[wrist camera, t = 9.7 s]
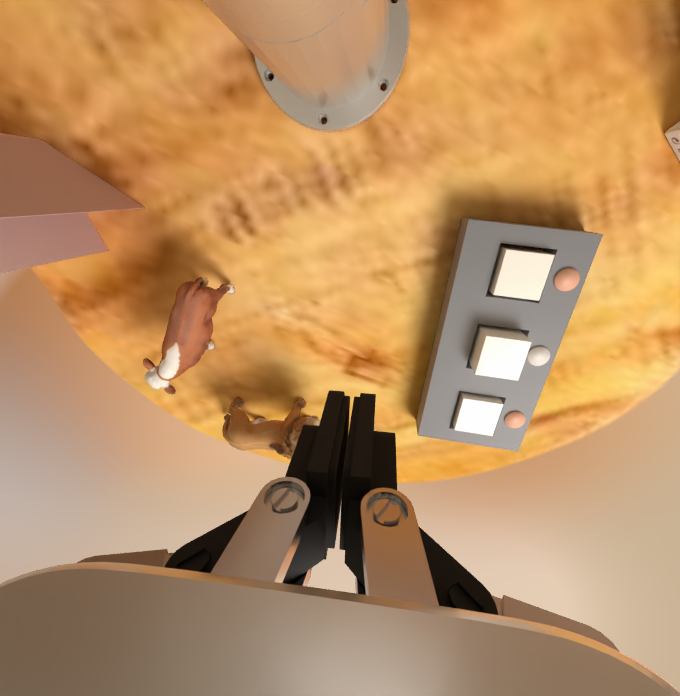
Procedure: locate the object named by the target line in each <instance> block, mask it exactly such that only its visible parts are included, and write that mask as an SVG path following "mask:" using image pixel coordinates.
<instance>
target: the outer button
mask: <svg viewBox="0 0 680 696" xmlns="http://www.w3.org/2000/svg"><path fill="white" fill-rule="evenodd" d="M502 407H503V403H502V401H501V399H500V397H497V396H490V395H483V394H477V393H470V392H463V391H459V394H458V397H457V401H456V405H455V408H454V412H453V415H452V423H453V426H454V430H457V431H464V432H470V433H477V434H483V435H489V436H493V433H494V430H495V427H496V424H497V422H498V419H499V416H500V413H501V410H502Z"/></svg>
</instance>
